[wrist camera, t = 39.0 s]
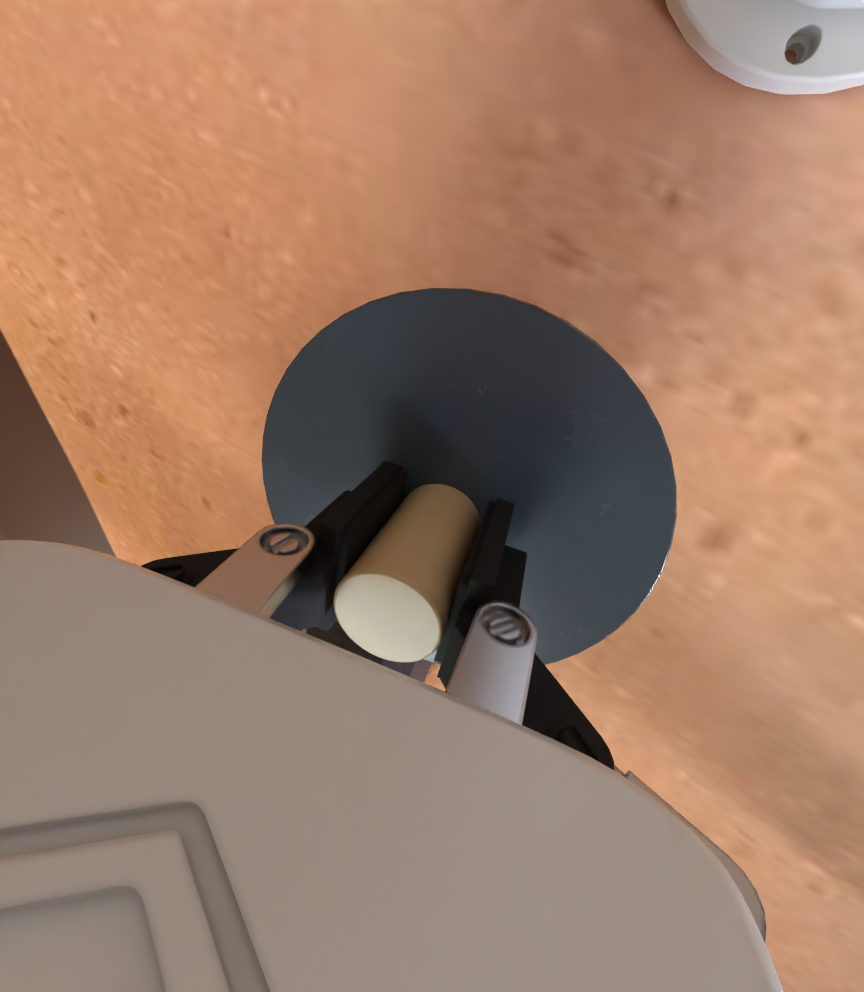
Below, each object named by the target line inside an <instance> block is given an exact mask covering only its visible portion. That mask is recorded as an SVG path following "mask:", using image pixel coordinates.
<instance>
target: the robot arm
mask: <svg viewBox="0 0 864 992" xmlns="http://www.w3.org/2000/svg"><path fill="white" fill-rule="evenodd" d="M665 2H666V5H667V8H668V11H669V13H670V14H671V16H672V18H673V19H674V21H675V23H676V25H677V26H678V28H679V30H680V31H681V33H682V35H683V37H684V38H685V40H686V42H687V43H688V45H689V46H690V47H691V48H692V49H693V50H694V51H695V52H696V53H698V54H699V55H700V56H701V57H702V58H703V59H704V60H705V61H706V62H707V63H708V64H709V65H710V66H711V67H712V68H713V69H714V70H716V71H718V72H719V73H721V74H723V75H725V76H727V77H729V78H731V79H732V80H734V81H736V82H738V83H740V84H742V85H744V86H746V87H750V88H755V89H759V90H764V91H768V92H773V93H777V94H782V95H785V94H825V93H830V92H834V91H839V90H843V89H848V88H852V87H856V86H861V85H864V0H665ZM790 50H792V51H794V52H796V56H797V59H796V63H795V64H794V65H793V64H791V63H789V62H788V61H786V57H785V54H784V53H785V52H786V51H790ZM406 480H407V472H404V471H403V467H402V466H400V465H397V464H394V463H391V462H388V461H384V462H383V463H382V464H381V465H380V466H379V467H378V468H377V469H376V470H374V471H373V472H372V473H371V474H370V475H369V476H368V477H367V478H366V479H365V480H364V481H363V482H361V483H360V484H359V485H358V486H357V487H356V488H355V489H354V490H353V491H349V490H346V491H344V492H343V493H342V494H341V495H339V496H338V497H337V498H336V499H335V500H334V501H333V502H332V503H330V504H329V505H328V506H327V507H326V508H325V509H324V510H323V511H321V512H320V513H319V514H318V515H317V516H316V517H315V518H314V519H312V520H311V521H310V522H309V523H308V524H307V525H306V526H305V527H303V526H301V525H298V524H293V523H278V524H272V525H269V526H267V527H264V528H263V529H261V530H260V531H258V532H257V533H256V534H255V535H254V536H252V537H251V538H250V539H249V540H248V541H247V542H246V543H244V544H243V545H242V546H241V547H240V548H238V549H231V550H223V551H216V552H208V553H200V554H193V555H185V556H178V557H170V558H164V559H159V560H155V561H152V562H149V563H147V564H144V565H142V566H138V565H136V564H133V563H130V562H127V561H124V560H122V559H119V558H116V557H113V556H110V555H107V554H103V553H100V552H97V551H93V550H89V549H86V548H82V547H78V546H72V545H66V544H60V543H55V542H43V541H29V540H3V541H0V992H783V989H782V986H781V984H780V981H779V978H778V976H777V973H776V971H775V968H774V966H773V963H772V961H771V958H770V955H769V953H768V950H767V948H766V945H765V939H766V920H765V912H764V908H763V906H762V903H761V901H760V899H759V896H758V894H757V891H756V889H755V888H754V886H753V885H752V883H751V882H750V880H749V879H748V877H747V876H746V874H745V873H744V871H743V870H742V869H741V868H740V867H739V866H738V865H737V864H736V863H735V862H734V861H733V860H732V859H731V858H730V857H729V856H728V855H727V854H726V853H725V852H724V851H723V850H721V849H720V848H719V847H718V846H717V845H716V844H715V843H713V842H712V841H711V840H710V839H709V838H708V837H706V836H705V835H704V834H703V833H702V832H701V831H699V830H698V829H697V828H696V827H695V826H694V825H692V824H691V823H690V822H689V821H688V820H687V819H685V818H684V817H683V816H682V815H681V814H680V813H678V812H677V811H676V810H675V809H674V808H673V807H671V806H670V805H669V804H668V803H667V802H666V801H664V800H663V799H662V798H661V797H660V796H659V795H657V794H656V793H655V792H654V791H653V790H652V789H651V788H649V787H648V786H647V785H646V784H645V783H644V782H642V781H641V780H640V779H639V778H638V777H637V776H635V775H634V774H633V773H632V772H631V771H630V770H629V771H628V772H627V773H626V774H624V773H623V772H622V771H621V770H619V769H618V768H617V767H616V766H615V765H614V761H613V758H612V755H611V753H610V750H609V748H608V746H607V745H606V743H605V742H604V740H603V739H602V737H601V736H600V734H599V733H598V732H597V731H596V729H595V728H594V727H593V726H592V724H591V723H590V722H589V721H588V719H587V718H586V717H585V716H584V714H583V713H582V712H581V710H580V709H579V708H578V707H577V705H576V704H575V703H574V702H573V700H572V699H571V698H570V697H569V695H568V694H567V693H566V692H565V690H564V689H563V688H562V686H561V685H560V684H559V683H558V681H557V680H556V679H555V678H554V676H553V675H552V674H551V673H550V671H549V670H548V669H547V668H546V666H545V665H544V664H543V662H542V661H541V660H540V659H539V657H538V656H537V655H536V654H535V648H536V642H537V629H536V626H535V624H534V622H533V620H532V619H531V618H530V617H529V615H528V614H527V613H525V612H524V611H523V610H522V609H521V608H519V606H520V599H521V592H522V586H523V579H524V572H525V566H526V559H527V552H524V551H521V550H519V549H516V548H513V547H510V546H507V545H505V543H506V539H507V534H508V530H509V526H510V522H511V518H512V514H513V510H514V506H515V503H512V502H509V501H506V500H502V499H499V498H498V499H497V501H496V502H494V501H491V500H489V502H488V505H487V508H486V511H485V513H484V516H483V519H482V521H481V524H480V527H479V529H478V532H477V535H476V537H475V540H474V543H473V545H472V548H471V551H470V553H469V556H468V559H467V561H466V564H465V567H464V570H463V572H462V575H461V578H460V581H459V584H458V587H457V590H456V593H455V596H454V599H453V602H452V606H451V609H450V612H449V617H448V624H447V628H446V631H445V633H444V636H443V639H442V641H441V644H440V645H439V647H438V649H437V652H436V655H435V658H434V661H435V662H437V663H440V664H441V667H440V670H439V673H438V676H437V677H439V678H440V679H441V681H442V683H443V685H444V687H445V689H446V690H445V692H444V691H442V690H439V689H437V688H434V687H432V686H430V685H427V684H425V683H423V682H420V681H418V680H416V679H413V678H411V677H409V676H406V675H404V674H401V673H399V672H397V671H394V670H392V669H390V668H387V667H385V666H383V665H380V664H378V663H375V662H373V661H371V660H368V659H366V658H363V657H361V656H359V655H356V654H354V653H351V652H349V651H347V650H344V649H342V648H340V647H337V646H335V645H332V644H330V643H328V642H325V641H323V640H320V639H318V638H316V637H313V636H311V635H308V634H307V632H308V628H311V627H318V628H320V629H322V630H325V631H327V632H328V631H329V630H330V628H331V627H332V625H333V624H334V623H335V621H336V622H338V620H337V617H336V614H335V611H334V594H335V590H336V588H337V586H338V584H339V582H340V581H341V580H342V579H343V577H344V576H345V575H346V573H347V572H348V571H349V570H350V568H351V567H352V566H353V564H354V563H355V562H356V561H357V559H358V558H359V557H360V556H361V554H362V553H363V552H364V550H365V549H366V548H367V547H368V545H369V544H370V543H371V542H372V540H373V539H374V538H375V536H376V535H377V534H378V533H379V531H380V530H381V529H382V527H383V526H384V525H385V524H386V522H387V521H388V520H389V519H390V517H391V516H392V515H393V513H394V512H395V511H396V510H397V508H398V507H399V506H400V505H401V503H402V500H403V495H404V490H405V485H406Z"/></svg>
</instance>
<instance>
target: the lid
mask: <svg viewBox="0 0 864 992" xmlns="http://www.w3.org/2000/svg"><path fill="white" fill-rule="evenodd" d="M384 461H388V462H391V463H394V464H397V465H400V466H402V467H403V471H404V472H407V480H406V485H405V490H404V495H403V500H402V503H401V505H400V506H399V507H398V508H397V510H396V511H395V512H394V513H393V515H392V516H391V517H390V519H389V520H388V521H387V522H386V524H385V525H384V526H383V527H382V529H381V530H380V531H379V533H378V534H377V535H376V536H375V538H374V539H373V540H372V542H371V543H370V544H369V545H368V547H367V548H366V549H365V550H364V552H363V553H362V554H361V556H360V557H359V558H358V559H357V561H356V562H355V563H354V564H353V566H352V567H351V568H350V570H349V571H348V572H347V573H346V575H345V576H344V577H343V579H342V580H341V581H340V582H339V584H338V586H337V588H336V590H335V594H334V611H335V614H336V617H337V620H338V622H339V624H340V625H341V627H342V628H343V630H344V631H345V633H346V634H347V635H348V636H349V637H350V638H351V639H352V640H353V641H354V642H355V643H356V644H357V645H359V646H360V647H361V648H363V649H364V650H366V651H368V652H369V653H371V654H373V655H375V656H377V657H380V658H383V659H386V660H390V661H395V662H415V661H419V660H422V659H423V660H426V661H430V662H434V663H437V662H435V661H434V658H435V655H436V652H437V649H438V647H439V645H440V644H441V641H442V639H443V636H444V633H445V631H446V628H447V624H448V617H449V612H450V609H451V606H452V602H453V599H454V596H455V593H456V590H457V587H458V584H459V581H460V578H461V575H462V572H463V570H464V567H465V564H466V561H467V559H468V556H469V553H470V551H471V548H472V545H473V543H474V540H475V537H476V535H477V532H478V529H479V527H480V524H481V521H482V519H483V516H484V513H485V511H486V508H487V505H488V502H489V500H491V501H494V502H496V501H497V499H498V498H499V499H502V500H506V501H509V502H512V503H515V506H514V510H513V514H512V518H511V522H510V526H509V530H508V534H507V539H506V543H505V545H507V546H510V547H513V548H516V549H519V550H521V551H524V552H527V559H526V566H525V572H524V579H523V586H522V592H521V599H520V606H519V608H521V609H522V610H523V611H524V612H525V613H527V614H528V615H529V617H530V618H531V619H532V620H533V622H534V624H535V626H536V629H537V642H536V648H535V654H536V655H537V656H538V657H539V659H540V660H541V661H542V662H543V664H544V665H545V664H549V663H553V662H557V661H560V660H562V659H565V658H568V657H570V656H573V655H575V654H578V653H580V652H582V651H584V650H586V649H587V648H589V647H591V646H593V645H595V644H597V643H599V642H600V641H601V640H603V639H604V638H606V637H607V636H608V635H610V634H611V633H613V632H614V631H615V630H617V629H618V628H619V627H620V626H621V625H622V624H623V623H624V622H625V621H626V620H628V619H629V618H630V617H631V616H632V615H633V614H634V613H635V612H636V610H637V609H638V608H639V607H640V605H641V604H642V603H643V601H644V600H645V599H646V598H647V596H648V595H649V594H650V592H651V590H652V589H653V587H654V585H655V583H656V581H657V579H658V578H659V576H660V574H661V572H662V570H663V568H664V565H665V562H666V559H667V556H668V553H669V551H670V548H671V545H672V540H673V534H674V528H675V522H676V482H675V476H674V470H673V464H672V458H671V455H670V452H669V449H668V446H667V443H666V440H665V437H664V434H663V431H662V428H661V426H660V424H659V422H658V420H657V418H656V417H655V415H654V413H653V411H652V409H651V407H650V405H649V404H648V402H647V400H646V398H645V396H644V395H643V394H642V392H641V391H640V390H639V388H638V387H637V386H636V384H635V383H634V382H633V381H632V379H631V378H630V377H629V375H628V374H627V373H626V371H625V370H624V369H623V367H622V366H621V365H620V364H619V363H618V362H617V361H616V360H615V359H614V358H613V357H612V356H611V355H610V354H609V353H608V352H606V351H605V350H604V349H603V348H602V347H601V346H600V345H599V344H598V343H597V342H596V341H595V340H593V339H592V338H590V337H589V336H588V335H586V334H585V333H583V332H582V331H581V330H579V329H578V328H576V327H575V326H573V325H572V324H571V323H569V322H568V321H566V320H564V319H562V318H560V317H558V316H556V315H554V314H552V313H550V312H548V311H546V310H544V309H542V308H540V307H538V306H536V305H533V304H530V303H527V302H524V301H521V300H518V299H515V298H512V297H509V296H506V295H502V294H497V293H491V292H485V291H479V290H473V289H452V288H429V289H422V290H415V291H407V292H400V293H396V294H393V295H390V296H386V297H383V298H380V299H376V300H373V301H370V302H368V303H366V304H364V305H362V306H360V307H358V308H356V309H353V310H351V311H349V312H347V313H345V314H343V315H342V316H340V317H339V318H338V319H336V320H335V321H333V322H332V323H330V324H329V325H328V326H326V327H325V328H323V329H322V330H321V331H320V332H319V333H318V334H317V335H316V336H315V337H313V338H312V339H311V340H310V341H309V342H308V343H307V344H306V345H305V346H304V347H303V348H302V349H301V351H300V352H299V353H298V355H297V356H296V357H295V359H294V360H293V361H292V363H291V364H290V366H289V367H288V368H287V370H286V372H285V374H284V375H283V377H282V379H281V381H280V383H279V385H278V387H277V389H276V391H275V393H274V396H273V399H272V402H271V405H270V408H269V410H268V413H267V419H266V424H265V429H264V434H263V447H262V467H263V480H264V485H265V491H266V496H267V501H268V504H269V508H270V511H271V514H272V517H273V520H274V523H275V524H278V523H293V524H298V525H301V526H303V527H305V526H306V525H307V524H308V523H309V522H310V521H311V520H312V519H314V518H315V517H316V516H317V515H318V514H319V513H320V512H321V511H323V510H324V509H325V508H326V507H327V506H328V505H329V504H330V503H332V502H333V501H334V500H335V499H336V498H337V497H338V496H339V495H341V494H342V493H343V492H344V491H346V490H349V491H353V490H354V489H355V488H356V487H357V486H358V485H359V484H360V483H361V482H363V481H364V480H365V479H366V478H367V477H368V476H369V475H370V474H371V473H372V472H373V471H374V470H376V469H377V468H378V467H379V466H380V465H381V464H382V463H383V462H384ZM437 664H440V663H437Z"/></svg>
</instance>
